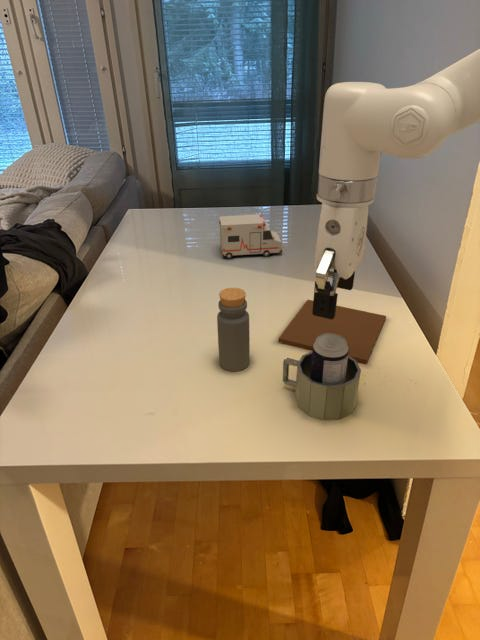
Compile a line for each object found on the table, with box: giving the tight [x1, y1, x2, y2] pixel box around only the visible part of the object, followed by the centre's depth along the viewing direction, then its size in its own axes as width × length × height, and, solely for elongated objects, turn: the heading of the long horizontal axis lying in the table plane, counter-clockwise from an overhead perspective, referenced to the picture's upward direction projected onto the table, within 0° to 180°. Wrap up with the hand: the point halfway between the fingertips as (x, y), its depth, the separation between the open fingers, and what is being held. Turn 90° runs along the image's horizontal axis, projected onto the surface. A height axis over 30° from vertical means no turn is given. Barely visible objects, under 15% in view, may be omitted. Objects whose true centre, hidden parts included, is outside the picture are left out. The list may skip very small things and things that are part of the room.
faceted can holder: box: [282, 350, 362, 421], centre depth 79 cm, size 13×10×7 cm
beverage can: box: [310, 333, 349, 385], centre depth 77 cm, size 6×6×12 cm
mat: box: [278, 299, 387, 365], centre depth 98 cm, size 18×18×1 cm
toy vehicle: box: [218, 213, 283, 260], centre depth 133 cm, size 10×17×10 cm, turn 97°
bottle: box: [216, 287, 251, 372], centre depth 86 cm, size 6×6×15 cm
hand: (333, 301), depth 70 cm, fingers open, 9 cm apart
